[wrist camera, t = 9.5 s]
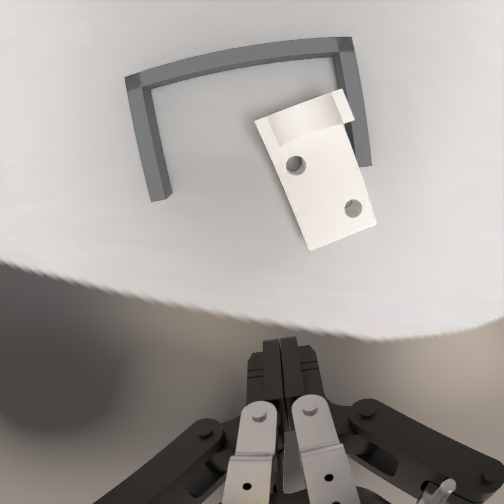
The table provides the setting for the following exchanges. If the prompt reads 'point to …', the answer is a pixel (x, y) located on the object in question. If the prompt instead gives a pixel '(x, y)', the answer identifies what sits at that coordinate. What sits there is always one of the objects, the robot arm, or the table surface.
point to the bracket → (319, 168)
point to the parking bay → (233, 59)
